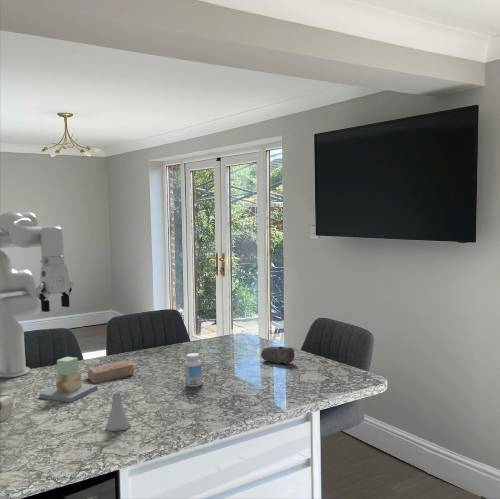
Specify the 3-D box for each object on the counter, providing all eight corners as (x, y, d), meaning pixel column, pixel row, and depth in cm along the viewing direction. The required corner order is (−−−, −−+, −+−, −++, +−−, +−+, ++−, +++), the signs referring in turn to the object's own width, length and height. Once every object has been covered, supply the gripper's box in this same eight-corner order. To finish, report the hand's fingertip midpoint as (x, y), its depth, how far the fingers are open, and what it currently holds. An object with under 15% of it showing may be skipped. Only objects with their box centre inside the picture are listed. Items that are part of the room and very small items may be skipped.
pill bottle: (205, 383, 199) (204, 353, 198) (196, 388, 193) (195, 357, 193) (191, 381, 201) (190, 351, 201) (182, 386, 196) (181, 356, 195)
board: (39, 397, 188) (39, 393, 188) (67, 385, 201) (67, 381, 201) (70, 402, 182) (70, 398, 182) (97, 389, 195) (97, 385, 195)
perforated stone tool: (258, 362, 225) (257, 345, 224) (264, 359, 229) (264, 343, 228) (289, 366, 216) (289, 350, 216) (295, 363, 221) (295, 347, 220)
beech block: (56, 390, 190) (55, 374, 190) (68, 385, 196) (67, 369, 195) (69, 392, 188) (69, 375, 187) (81, 387, 193) (80, 371, 193)
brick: (93, 383, 203) (93, 371, 203) (87, 378, 210) (86, 366, 210) (135, 375, 212) (134, 363, 212) (127, 370, 219) (127, 359, 219)
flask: (108, 423, 163) (106, 391, 162) (132, 421, 164) (130, 389, 163) (103, 432, 156) (102, 399, 155) (128, 431, 156) (127, 397, 156)
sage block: (57, 374, 190) (56, 360, 190) (67, 370, 194) (67, 356, 194) (68, 375, 188) (67, 361, 187) (78, 371, 192) (77, 357, 192)
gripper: (42, 263, 180) (45, 314, 182) (78, 259, 196) (80, 305, 197) (26, 263, 183) (29, 313, 185) (62, 259, 199) (65, 304, 200)
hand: (55, 309), depth 191 cm, fingers open, 9 cm apart
